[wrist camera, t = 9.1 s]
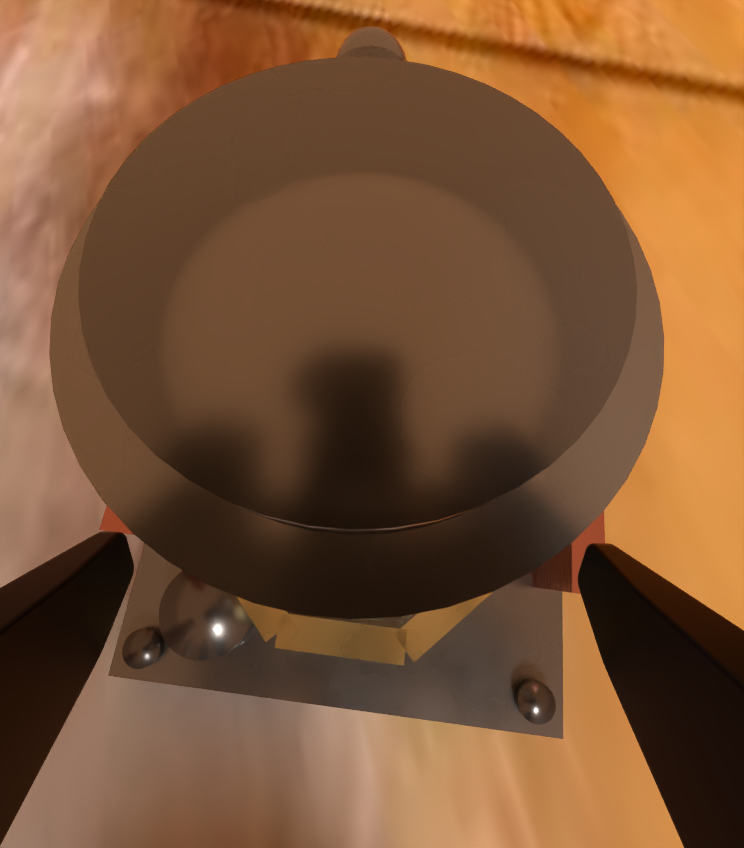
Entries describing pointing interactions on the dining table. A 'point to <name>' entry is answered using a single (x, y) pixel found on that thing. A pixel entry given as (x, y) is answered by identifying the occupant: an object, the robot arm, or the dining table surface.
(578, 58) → the dining table surface
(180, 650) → the grey base with ring
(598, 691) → the dining table surface
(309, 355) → the spout can
